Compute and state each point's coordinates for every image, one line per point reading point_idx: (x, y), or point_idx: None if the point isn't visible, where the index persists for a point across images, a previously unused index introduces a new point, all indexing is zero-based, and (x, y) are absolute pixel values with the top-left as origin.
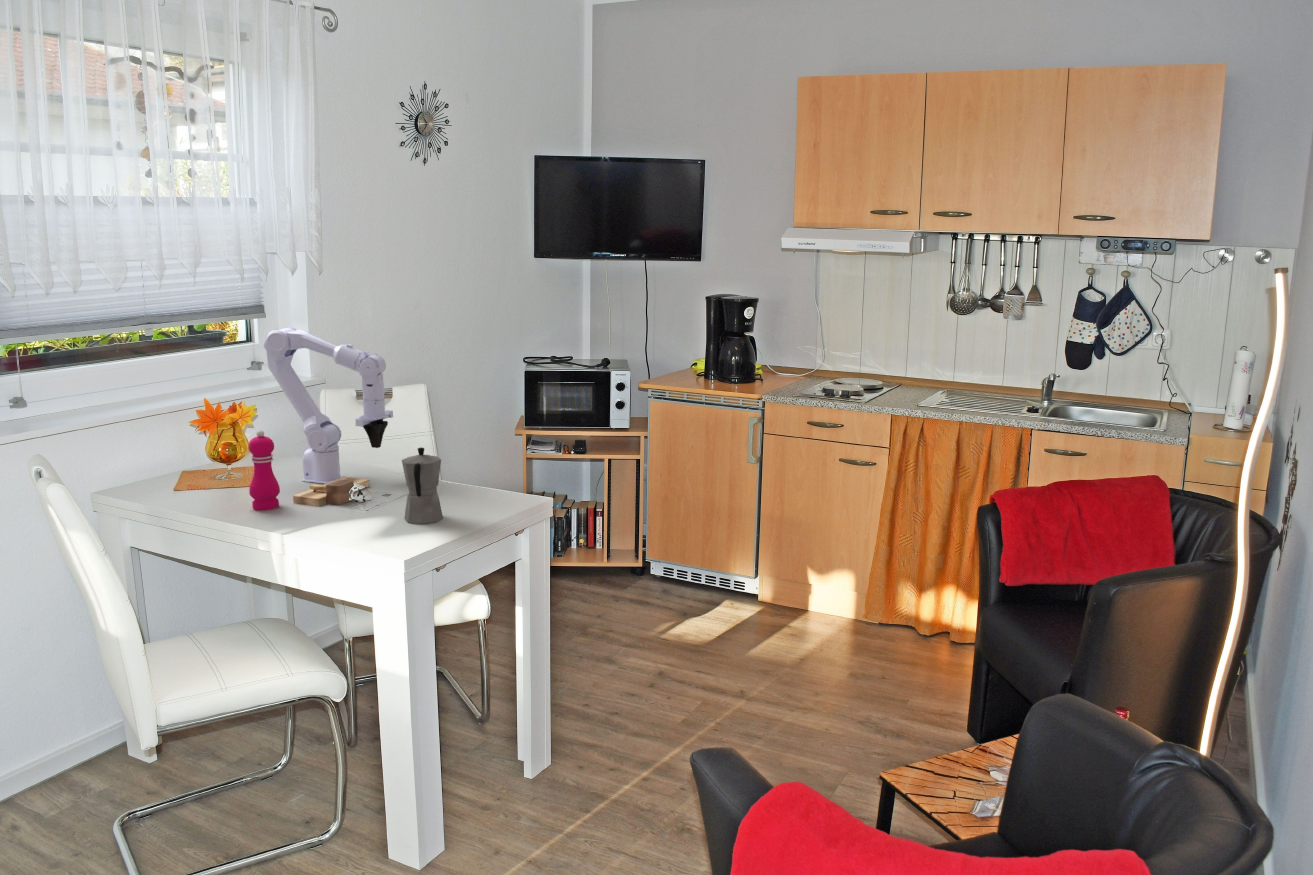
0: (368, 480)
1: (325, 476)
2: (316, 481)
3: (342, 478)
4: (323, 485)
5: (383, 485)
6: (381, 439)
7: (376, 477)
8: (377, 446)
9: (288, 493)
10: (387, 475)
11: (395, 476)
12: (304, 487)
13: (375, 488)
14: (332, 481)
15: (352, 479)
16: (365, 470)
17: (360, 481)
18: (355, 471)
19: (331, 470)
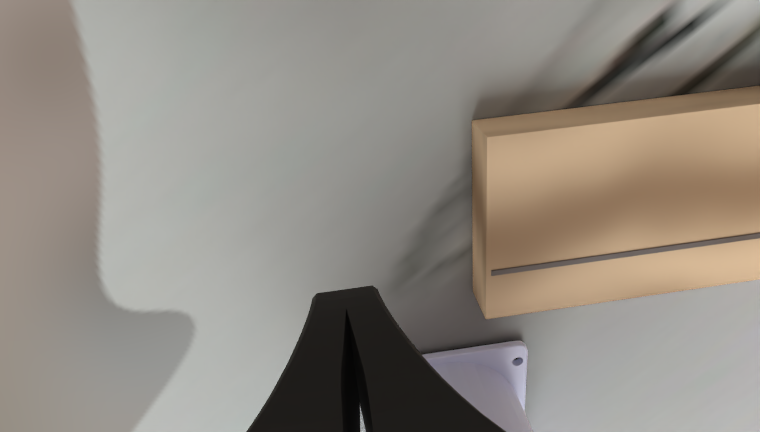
0: (489, 134)
1: (517, 401)
2: (524, 410)
3: (523, 301)
4: (707, 275)
5: (395, 54)
6: (316, 344)
7: (245, 247)
8: (378, 298)
9: (723, 373)
10: (157, 224)
11: (139, 158)
12: (604, 393)
13: (491, 47)
14: (607, 299)
15: (523, 235)
16: (156, 407)
17: (554, 152)
18: (210, 429)
19: (501, 414)
